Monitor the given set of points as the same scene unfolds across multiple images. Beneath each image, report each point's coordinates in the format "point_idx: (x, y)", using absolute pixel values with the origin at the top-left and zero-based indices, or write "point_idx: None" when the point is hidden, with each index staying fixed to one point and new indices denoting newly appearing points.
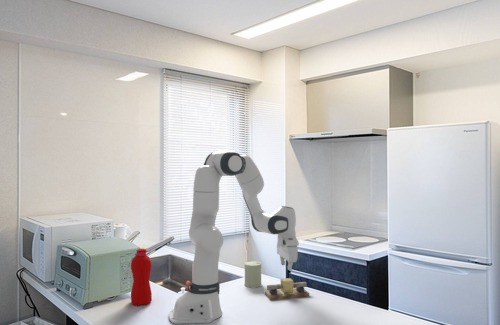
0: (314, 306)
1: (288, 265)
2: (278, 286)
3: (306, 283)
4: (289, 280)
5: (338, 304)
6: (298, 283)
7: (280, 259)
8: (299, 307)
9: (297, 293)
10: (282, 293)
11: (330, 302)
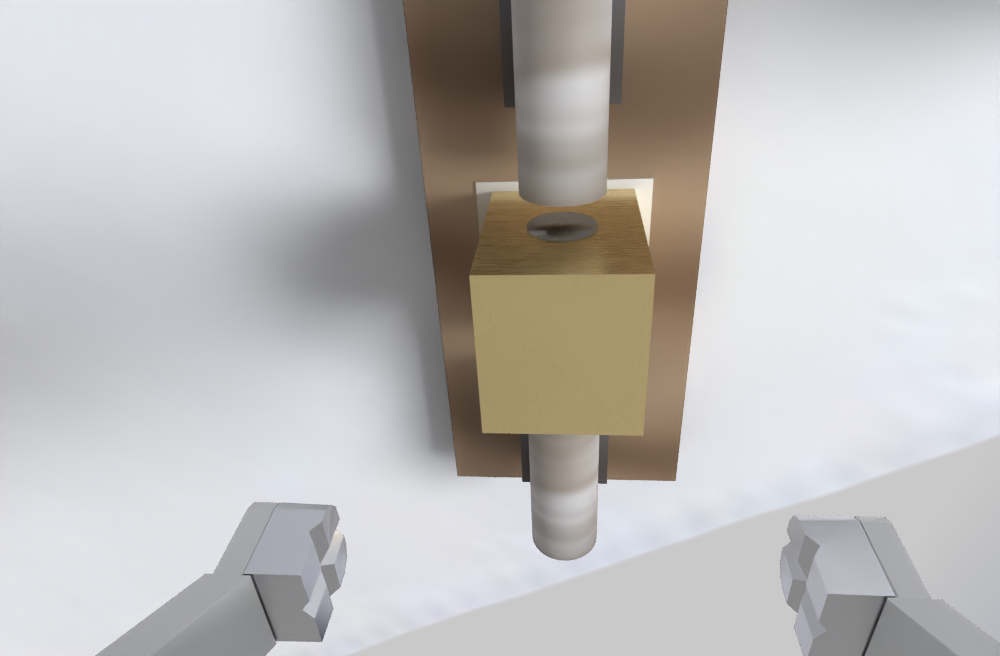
0: (171, 394)
1: (164, 604)
2: (519, 154)
3: (540, 549)
4: (507, 385)
5: None
6: (543, 470)
7: (993, 642)
8: (130, 248)
9: None
10: (517, 181)
11: None
